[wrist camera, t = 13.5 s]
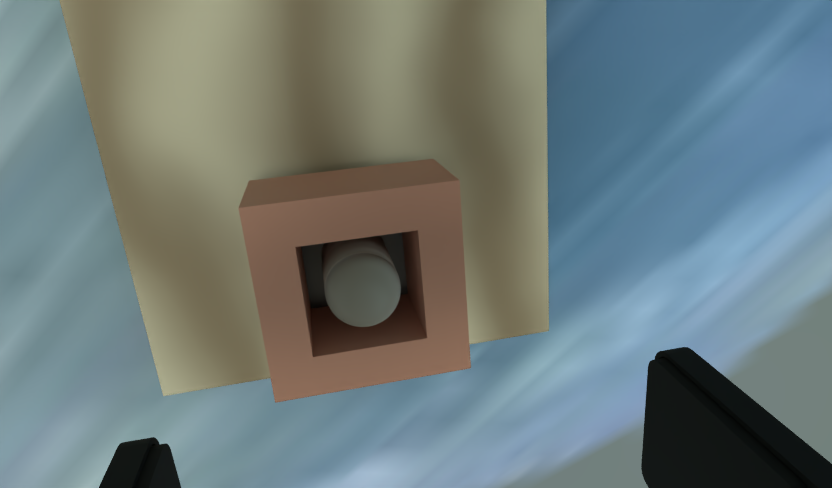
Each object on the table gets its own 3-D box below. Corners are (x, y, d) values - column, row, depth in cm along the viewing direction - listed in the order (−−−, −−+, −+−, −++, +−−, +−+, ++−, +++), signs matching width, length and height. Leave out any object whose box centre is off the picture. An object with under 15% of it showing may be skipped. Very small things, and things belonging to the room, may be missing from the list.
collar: (433, 158, 23) (459, 180, 19) (445, 320, 25) (470, 368, 21) (249, 180, 22) (238, 207, 18) (279, 347, 24) (275, 402, 20)
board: (525, -471, 20) (703, -884, 11) (537, 317, 30) (637, 430, 21) (-54, -498, 17) (-423, -1069, 8) (170, 378, 27) (108, 536, 18)
